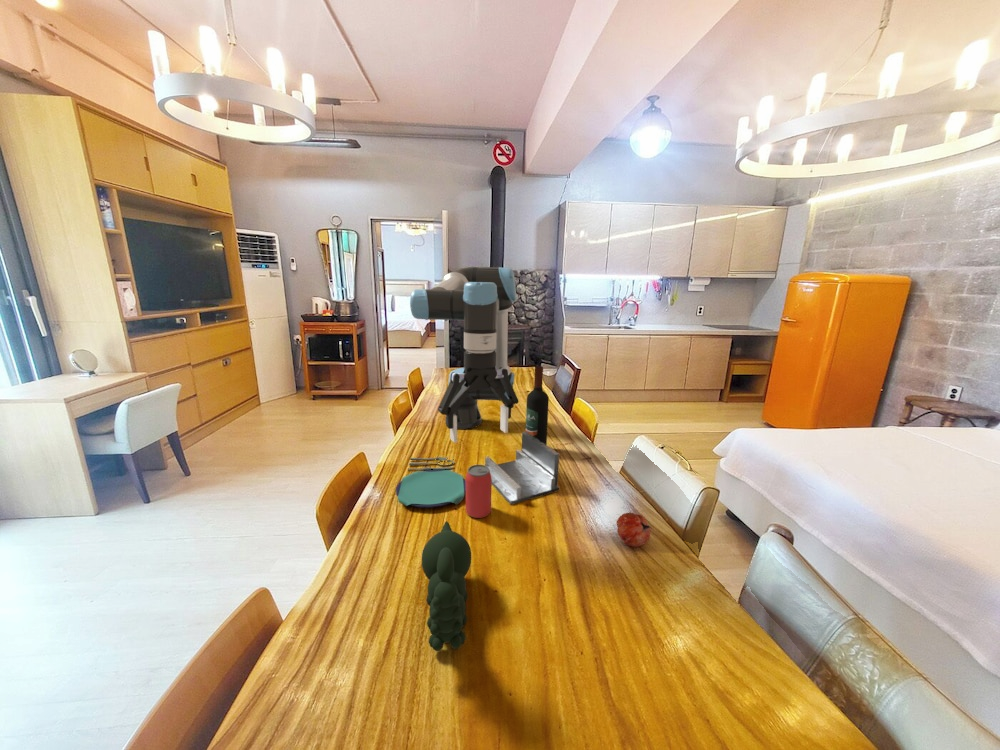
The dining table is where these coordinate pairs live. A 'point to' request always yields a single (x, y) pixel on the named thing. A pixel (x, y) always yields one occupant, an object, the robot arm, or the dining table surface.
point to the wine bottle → (537, 409)
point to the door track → (526, 471)
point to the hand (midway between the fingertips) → (479, 435)
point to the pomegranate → (633, 529)
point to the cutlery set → (431, 486)
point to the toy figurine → (446, 586)
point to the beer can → (478, 491)
